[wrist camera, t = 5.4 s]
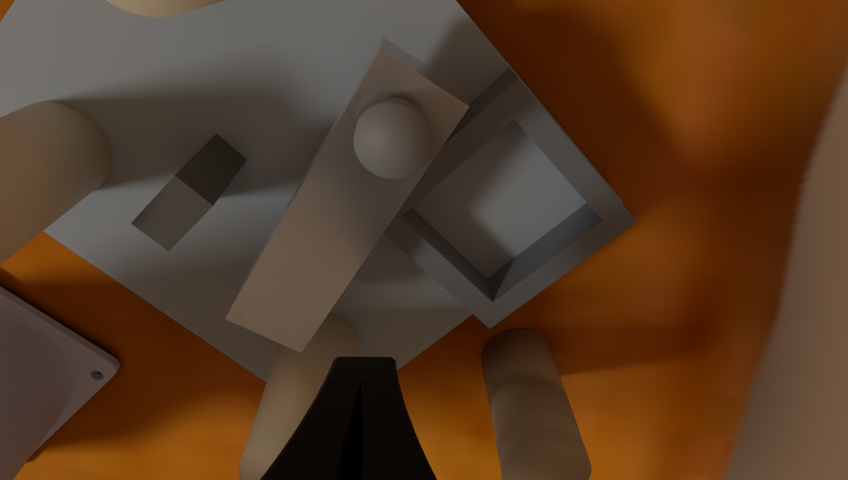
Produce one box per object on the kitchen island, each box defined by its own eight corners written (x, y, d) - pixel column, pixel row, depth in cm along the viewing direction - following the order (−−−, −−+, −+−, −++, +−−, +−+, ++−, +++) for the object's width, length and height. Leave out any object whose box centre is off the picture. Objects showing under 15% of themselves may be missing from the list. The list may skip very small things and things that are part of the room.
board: (330, 397, 24) (302, 565, 18) (-48, 131, 18) (-304, 236, 12) (608, 184, 20) (708, 304, 13) (230, -271, 14) (64, -472, 7)
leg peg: (510, 392, 25) (538, 514, 19) (467, 355, 24) (484, 474, 18) (563, 356, 24) (608, 474, 18) (521, 316, 23) (556, 429, 17)
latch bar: (383, 36, 14) (380, 48, 12) (462, 89, 15) (469, 106, 13) (240, 285, 18) (224, 318, 16) (310, 317, 18) (301, 353, 17)
